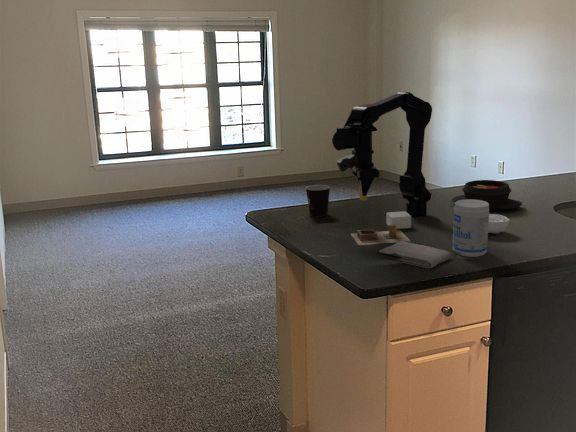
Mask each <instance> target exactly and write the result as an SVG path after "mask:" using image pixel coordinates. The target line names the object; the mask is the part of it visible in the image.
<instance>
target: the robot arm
mask: <svg viewBox="0 0 576 432" xmlns="http://www.w3.org/2000/svg"><path fill="white" fill-rule="evenodd" d="M399 108H400V109H401V110H403V112H405V120H406V123H407V124H408V126H409V137H408V147H407V148H408V149H407V150H408V151H407V159H406V160H407V163H406V171H405V172H404V173H403V174H401V175H399V184H398V187H399V192H401V196H402V199H405V200H406V203H405V205H404V211H406V212H407V213H408V214H409V215H410V216H411V218H420V217H428V215H427V209H428V208H427V205H428V204H427V203H428V202H430V201H431V199H432V193H431V191H429V190H428V188H427V187H426V179H425V176H424V173H423V171H422V168H423V158H424V157H423V156H424V146H425V132H426V127H428V125H429V124H430V122H431V118H432V114H433V106H432V105H431V103H430V102H429V101H425V100H424V99H422V98H420V97H418V96H415V95H414V94H413V93H412V92H410V91H398V92H396V93H395V94H392V95H391V96H387V97H386V98H382V99H380V100H378V101H375V102H374V103H370V104H369V103H368V104H367V103H366V104H361V105H356V106H355V105H354V107H352V108H351V111H350V114H349V116H348V117H347V120H346V122H345V123H344V125H343V127H337V128H336V132H334V134H333V137H332V138H331V142H332V146H333V147H334V149H335V150H336V151H344V150H350V149H352V150H351V154H348V155H345V156H344V157H341V158H338V159H336V160H335V163H336V166H337V168H338V171H340V172H345V171H347V170H351V174H353V175H354V176H355V178H356V179H357V183H358V186H359V189H360V184H361V189H362V195H363V196H366V195H367V196H368V193H369V191H370V188H371V186H372V184H373V182H374V180H375V179H377V178H380V170H378V169H377V168H376V167H375V166H374V165H375V163H374V162H373V154H374V153H375V151H374V149H373V132H377V131H378V128H377V127H376V126H375V125H374V124H375V123H376V122H377V121H378V120H379V119H380V117H382V116H383V115H386V114H387V113H390V112H392V111H395V110H396V109H399ZM352 169H353V171H352ZM359 180H360V181H359Z"/></svg>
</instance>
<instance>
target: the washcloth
mask: <svg viewBox="0 0 576 432" xmlns="http://www.w3.org/2000/svg"><path fill="white" fill-rule="evenodd" d="M379 253H381V254H384V255H390V256H394V257H393V258H388V260H389V261H395V262H397V263H398V262H399V263H403V264H408V265H412V266H416V267H420V268H425V269H433V268H435V267H436V266H437V265H439V264H441V263H445V262H446V261H448V260H449V259H451V257H452V253H451V252H450V251H448V250H445V249H441V248H440V249H439V248H436V247H432V246H428V245H423V244H422V245H421V244H417V243H412V242H410V241H407V242H404V241H400V242H394V244H392V245H388V246H386V247H385V248H383V249H380V250H379ZM395 257H397V258H395Z"/></svg>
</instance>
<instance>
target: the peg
mask: <svg viewBox="0 0 576 432" xmlns="http://www.w3.org/2000/svg"><path fill="white" fill-rule="evenodd" d="M359 181H360V180H359ZM359 200H360V201H368V194H367V195H366V196H363V195H362V189H361V184H360V188H359Z"/></svg>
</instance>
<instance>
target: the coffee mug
mask: <svg viewBox="0 0 576 432" xmlns="http://www.w3.org/2000/svg"><path fill="white" fill-rule="evenodd" d="M305 193H306V198H307V204H308V212H309V216H310V217H314V218H315V217H316V218H317V217H318V218H321V217H320V216H322V217H325V216H328V211H329V201H330V200H329V199H330V186H329V185H326V184H313V185H308V186H306V187H305Z"/></svg>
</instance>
